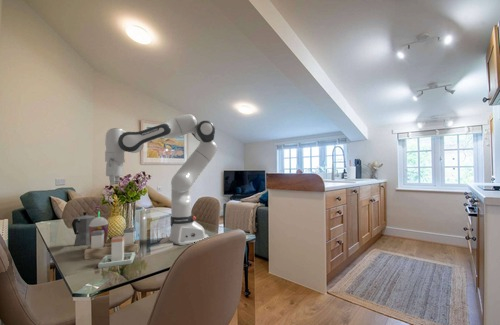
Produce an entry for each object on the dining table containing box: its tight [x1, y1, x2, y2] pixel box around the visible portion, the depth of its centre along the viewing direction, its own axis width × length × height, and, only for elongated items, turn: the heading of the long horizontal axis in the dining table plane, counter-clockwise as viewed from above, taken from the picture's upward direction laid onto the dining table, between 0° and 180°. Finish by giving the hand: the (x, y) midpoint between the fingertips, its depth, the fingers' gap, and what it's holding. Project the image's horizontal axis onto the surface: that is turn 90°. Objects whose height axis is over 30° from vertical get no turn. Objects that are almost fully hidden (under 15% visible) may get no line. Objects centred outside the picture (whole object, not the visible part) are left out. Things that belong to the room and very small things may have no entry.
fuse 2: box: [123, 226, 136, 245], centre depth 109 cm, size 4×4×11 cm
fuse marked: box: [110, 235, 125, 262], centre depth 98 cm, size 4×4×11 cm
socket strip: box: [84, 240, 140, 261], centre depth 107 cm, size 21×7×6 cm, turn 109°
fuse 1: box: [91, 230, 104, 249], centre depth 105 cm, size 4×4×11 cm
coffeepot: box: [71, 211, 96, 247], centre depth 124 cm, size 15×9×18 cm, turn 1°
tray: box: [97, 252, 136, 269], centre depth 97 cm, size 12×10×3 cm
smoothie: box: [89, 210, 109, 246], centre depth 114 cm, size 8×8×20 cm
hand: (114, 184), depth 121 cm, fingers open, 8 cm apart
